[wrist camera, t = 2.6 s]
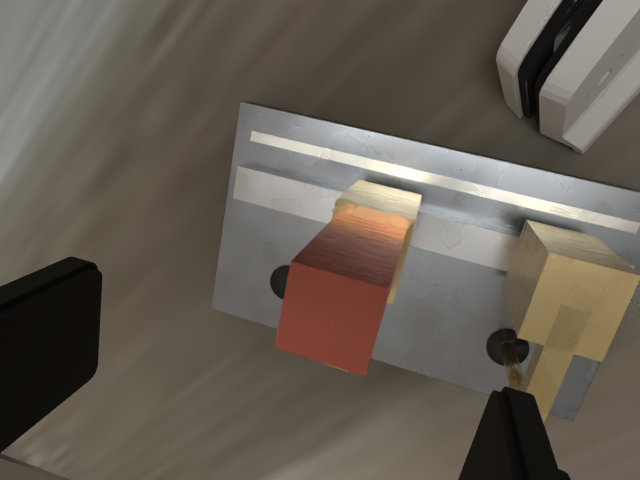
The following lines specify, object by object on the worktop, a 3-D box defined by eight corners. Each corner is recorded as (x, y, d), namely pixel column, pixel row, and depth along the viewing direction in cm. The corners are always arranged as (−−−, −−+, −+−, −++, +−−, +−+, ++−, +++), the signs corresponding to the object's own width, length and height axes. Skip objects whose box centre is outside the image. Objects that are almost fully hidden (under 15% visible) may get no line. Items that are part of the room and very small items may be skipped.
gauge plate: (568, 409, 30) (614, 523, 22) (218, 301, 34) (148, 363, 26) (662, 196, 26) (764, 238, 17) (248, 102, 30) (174, 100, 22)
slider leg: (386, 322, 29) (339, 500, 16) (332, 305, 30) (244, 465, 17) (422, 191, 27) (401, 275, 14) (362, 176, 27) (285, 243, 14)
